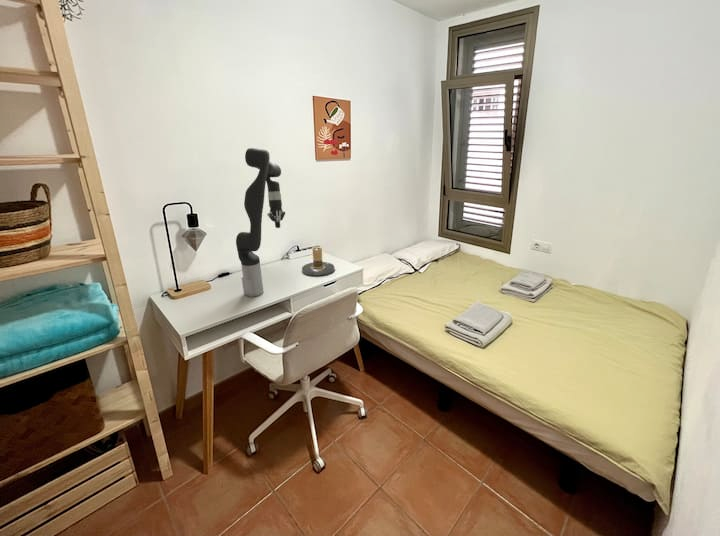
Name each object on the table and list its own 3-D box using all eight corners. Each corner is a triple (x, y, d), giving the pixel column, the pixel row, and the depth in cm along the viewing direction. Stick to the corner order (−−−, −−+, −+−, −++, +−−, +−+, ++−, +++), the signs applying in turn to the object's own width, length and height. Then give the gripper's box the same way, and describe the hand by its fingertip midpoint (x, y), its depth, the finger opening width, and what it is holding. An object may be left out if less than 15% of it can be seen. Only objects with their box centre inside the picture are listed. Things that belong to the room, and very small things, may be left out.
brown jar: (318, 270, 203) (317, 251, 198) (310, 267, 206) (308, 249, 202) (326, 266, 208) (325, 248, 203) (317, 264, 212) (316, 246, 207)
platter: (318, 278, 195) (318, 275, 194) (295, 271, 206) (295, 268, 205) (340, 268, 210) (340, 265, 209) (317, 262, 221) (317, 259, 220)
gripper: (270, 199, 194) (273, 229, 198) (287, 198, 205) (290, 226, 209) (262, 200, 199) (265, 229, 202) (279, 199, 209) (282, 226, 213)
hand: (278, 227), depth 206 cm, fingers closed
